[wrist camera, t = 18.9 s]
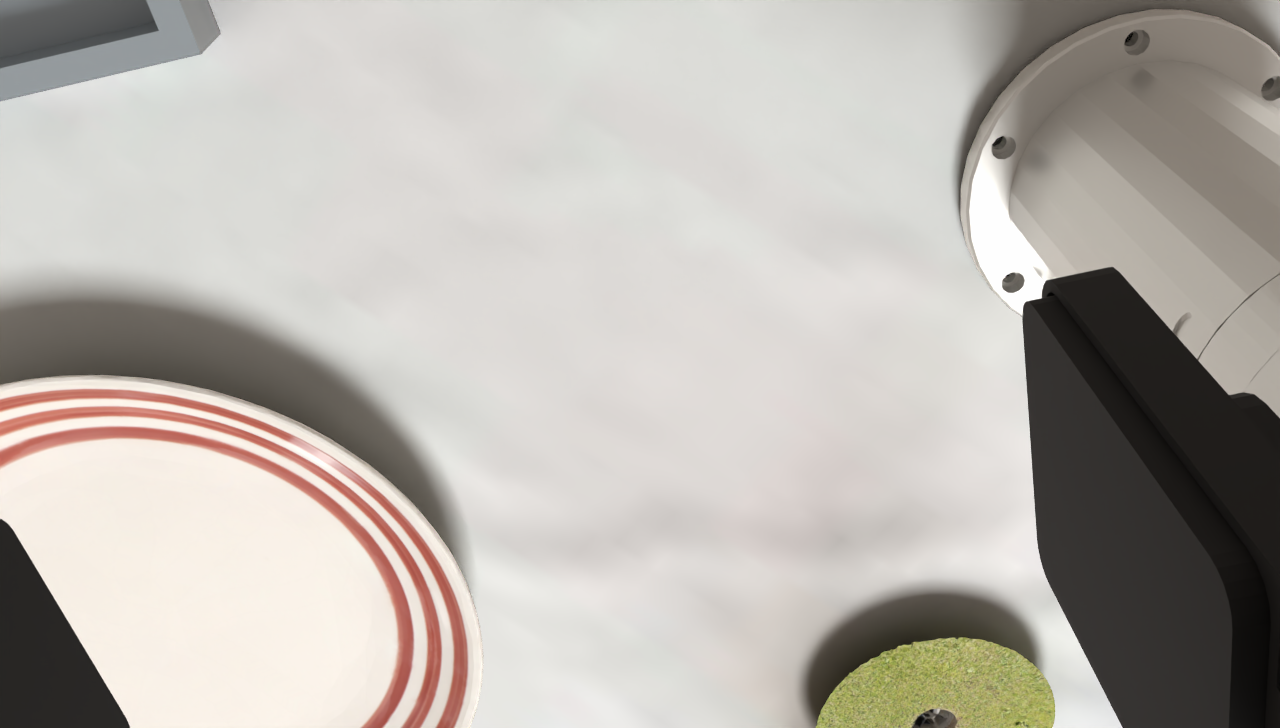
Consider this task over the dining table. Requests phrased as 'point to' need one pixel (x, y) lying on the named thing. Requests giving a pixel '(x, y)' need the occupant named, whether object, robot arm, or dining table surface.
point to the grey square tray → (94, 39)
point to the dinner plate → (233, 561)
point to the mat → (942, 689)
